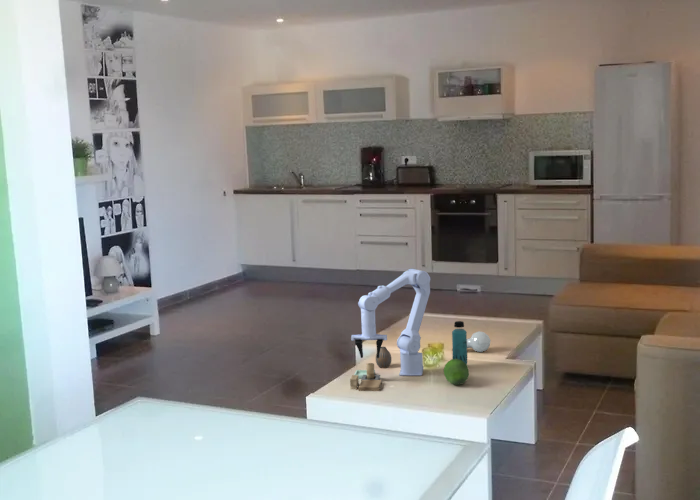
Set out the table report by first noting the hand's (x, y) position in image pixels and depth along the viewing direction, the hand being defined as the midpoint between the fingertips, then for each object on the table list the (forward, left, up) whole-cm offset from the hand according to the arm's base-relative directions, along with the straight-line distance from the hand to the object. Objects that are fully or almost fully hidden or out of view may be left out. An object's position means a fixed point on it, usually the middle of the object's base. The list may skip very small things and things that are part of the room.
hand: (369, 357), depth 332 cm
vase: (-3, -21, -10) cm, 23 cm away
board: (-1, +9, -10) cm, 14 cm away
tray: (+4, -6, -10) cm, 12 cm away
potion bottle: (-42, -46, -10) cm, 63 cm away
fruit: (-35, +2, -10) cm, 36 cm away
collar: (0, 0, -10) cm, 10 cm away
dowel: (0, 0, -10) cm, 10 cm away
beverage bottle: (-36, -20, -10) cm, 42 cm away
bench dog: (+6, +8, -10) cm, 14 cm away
